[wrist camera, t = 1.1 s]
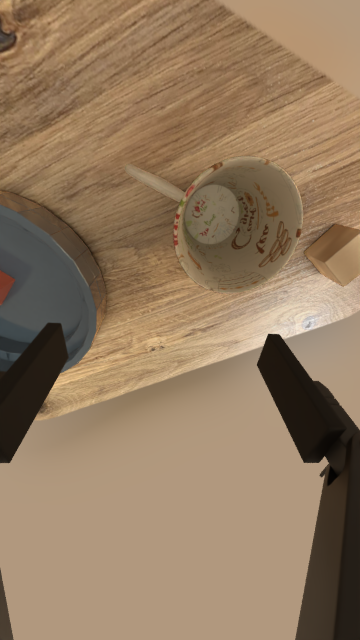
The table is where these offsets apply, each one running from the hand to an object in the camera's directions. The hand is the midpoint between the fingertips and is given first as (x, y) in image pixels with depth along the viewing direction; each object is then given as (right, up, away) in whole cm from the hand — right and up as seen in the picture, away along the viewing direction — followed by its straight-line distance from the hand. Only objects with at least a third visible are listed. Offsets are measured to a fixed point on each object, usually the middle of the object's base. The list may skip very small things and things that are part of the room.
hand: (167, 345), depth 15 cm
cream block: (+18, +10, +11) cm, 23 cm away
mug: (+2, +13, +8) cm, 15 cm away
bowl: (-18, +5, +11) cm, 21 cm away
